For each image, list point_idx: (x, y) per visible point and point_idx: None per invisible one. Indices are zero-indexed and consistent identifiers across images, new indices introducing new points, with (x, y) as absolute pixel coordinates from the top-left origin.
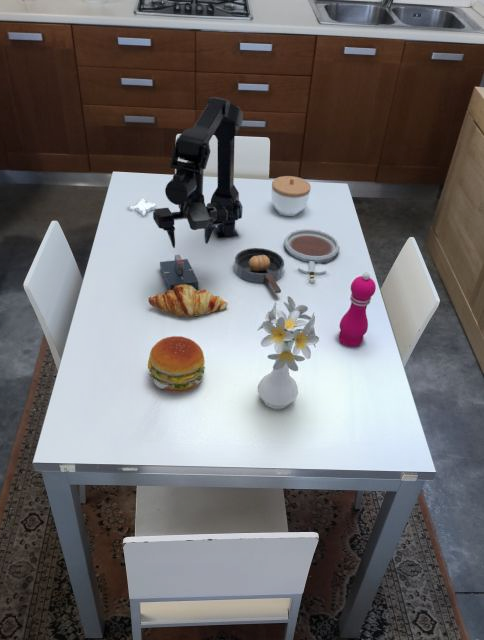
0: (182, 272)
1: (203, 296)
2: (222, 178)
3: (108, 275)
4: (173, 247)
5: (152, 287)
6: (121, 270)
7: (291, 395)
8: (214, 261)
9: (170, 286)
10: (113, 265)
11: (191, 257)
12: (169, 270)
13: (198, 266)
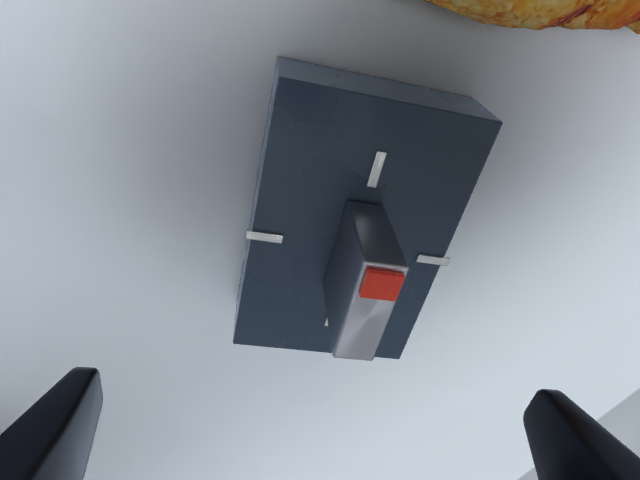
0: (358, 212)
1: None
2: None
3: (612, 352)
4: (563, 394)
5: (513, 205)
6: (540, 366)
7: None
8: (49, 309)
9: (495, 118)
10: None
11: (174, 368)
12: None
13: (165, 295)
